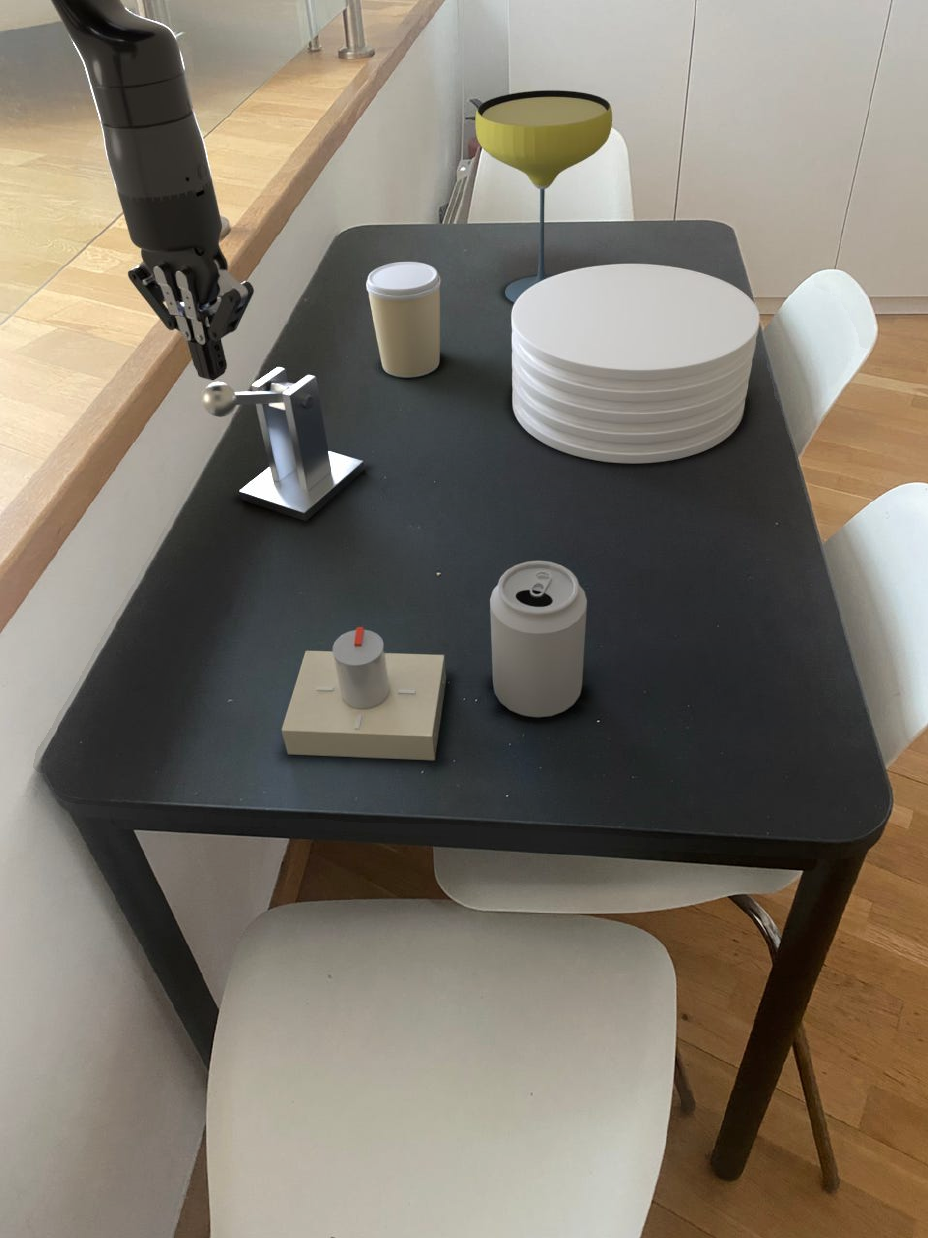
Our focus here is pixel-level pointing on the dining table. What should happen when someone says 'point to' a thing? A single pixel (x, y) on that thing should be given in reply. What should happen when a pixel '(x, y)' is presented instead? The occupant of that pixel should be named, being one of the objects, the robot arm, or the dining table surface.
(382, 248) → the dining table surface
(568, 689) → the can
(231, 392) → the tap lever
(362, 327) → the dining table surface
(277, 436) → the tap bracket
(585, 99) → the cocktail glass
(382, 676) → the dial
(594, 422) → the plate stack
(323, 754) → the panel
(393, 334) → the coffee cup
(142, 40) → the robot arm
